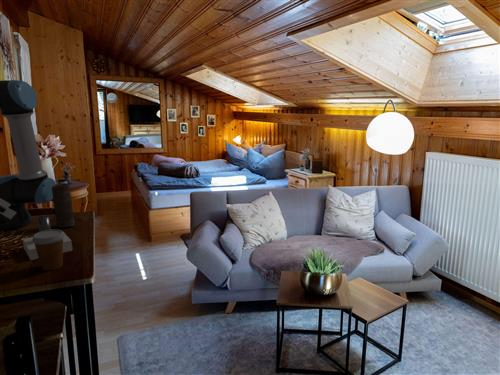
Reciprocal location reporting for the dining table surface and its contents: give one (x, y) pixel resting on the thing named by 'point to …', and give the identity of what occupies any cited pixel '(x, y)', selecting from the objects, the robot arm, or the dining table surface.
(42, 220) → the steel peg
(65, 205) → the candle
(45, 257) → the disposable coffee cup
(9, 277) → the dining table surface
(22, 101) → the robot arm
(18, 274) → the dining table surface
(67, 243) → the hole block
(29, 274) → the dining table surface
